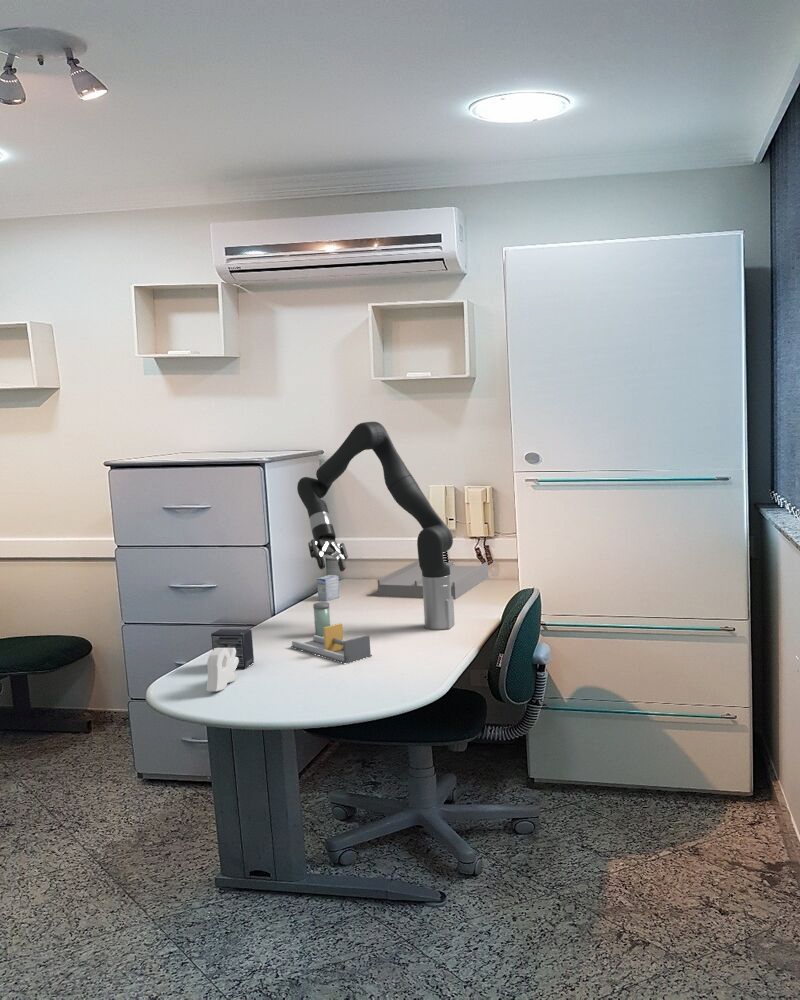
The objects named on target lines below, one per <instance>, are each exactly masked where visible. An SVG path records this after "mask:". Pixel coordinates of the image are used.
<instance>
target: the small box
mask: <svg viewBox="0 0 800 1000" xmlns="http://www.w3.org/2000/svg"><path fill="white" fill-rule="evenodd" d="M252 631H253V629H243V628H242V629H237V628H236V629H235V628H234V629H232V628H231V629H230V628H229V629H227V628H225V629H224V628H222V629H221V628H220V629H218V630H216V631H213V632H212V633H210V637H211V645H212V646H211V647H212V651H213V650H214V648H235V649H236V655H235V657H238V659H239V663H238V665H237V668H246V669H248V668H249V667H250V666H249V665H251V664H252V663H254V664H255V657H254V656H255V655H254V647H253V646H254V645H253V632H252ZM252 665H253V664H252ZM252 665H251V666H252ZM248 666H249V667H248ZM247 667H248V668H247Z"/></svg>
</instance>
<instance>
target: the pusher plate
mask: <svg viewBox="0 0 800 1000" xmlns="http://www.w3.org/2000/svg"><path fill="white" fill-rule="evenodd" d="M343 630H344V629H343V624H342V622H341V623H340V622H339V623H337V624H332V625H331V624H330V626H327V627H323V634H324V636H323V637H324V649H326V650H329V651H332V652H334V651H338V650H341V649H344V648H343V641H345V640H344V631H343Z"/></svg>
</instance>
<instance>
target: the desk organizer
mask: <svg viewBox="0 0 800 1000" xmlns="http://www.w3.org/2000/svg"><path fill="white" fill-rule="evenodd" d="M488 563H489V562H488V561H487V562H486V561H485V562H484V563H482V564H480V565H478V566H475V565H454V562H453V561H452V560H451V561H448V562H447V563H446V564H447V565H448V566H449V567H450V579H451V596H453V601H455V600H457V599H458V598H460V597H461V596H463V595H464V594H466V593H468V592H469V591H470V590H472V589H474V588H475V587H478V586H479V584H481V583H483V582H484V581H485V580H487V579H488V578H489V566H488V565H489V564H488ZM377 595H378V598H379V597H383V598H384V597H385V598H409V599H423V582H422V570H421V568H420V566H419V560H415V561H413V562H411V563H409V564H407V565H405V566H403V567H401V568H398V569H397V570H394V571H393V572H391V573H390V572H389V573H388V574H386V575H385V576H382V577H380V578H379V579H377Z"/></svg>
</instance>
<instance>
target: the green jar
mask: <svg viewBox="0 0 800 1000" xmlns="http://www.w3.org/2000/svg"><path fill="white" fill-rule="evenodd" d="M312 604H313V605H312V606H313V607H312V608H313V615H314V618H313V619H314V630H315V631H314V633H315V634H314V635H317V636H322V637H324V634H323V627H327V626H331V619H330V618H331V615H330V602H329V601H320V602H315V603H312Z"/></svg>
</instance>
